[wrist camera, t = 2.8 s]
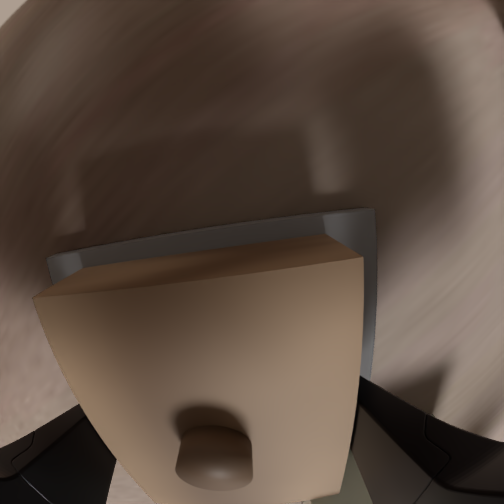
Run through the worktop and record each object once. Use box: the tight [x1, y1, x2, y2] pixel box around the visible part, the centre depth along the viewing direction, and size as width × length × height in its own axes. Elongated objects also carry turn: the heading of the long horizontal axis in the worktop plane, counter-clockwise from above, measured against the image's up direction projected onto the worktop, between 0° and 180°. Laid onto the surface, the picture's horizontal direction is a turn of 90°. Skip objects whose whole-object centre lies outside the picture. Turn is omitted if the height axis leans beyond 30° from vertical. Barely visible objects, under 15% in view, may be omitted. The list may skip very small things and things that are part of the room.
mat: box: [46, 208, 377, 449], centre depth 8 cm, size 10×10×1 cm
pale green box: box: [302, 415, 435, 504], centre depth 9 cm, size 7×7×4 cm
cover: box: [32, 234, 364, 504], centre depth 6 cm, size 7×9×4 cm
